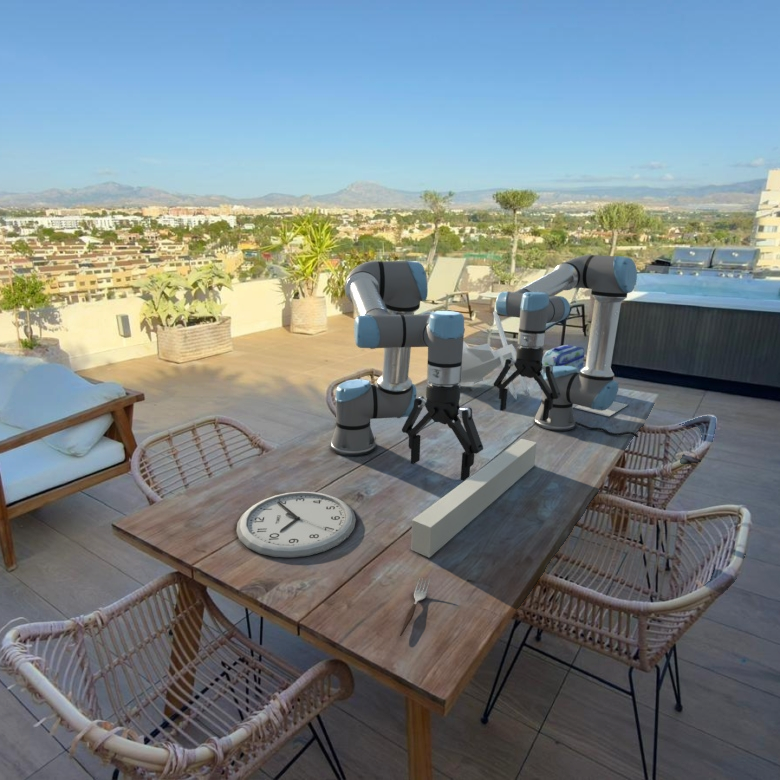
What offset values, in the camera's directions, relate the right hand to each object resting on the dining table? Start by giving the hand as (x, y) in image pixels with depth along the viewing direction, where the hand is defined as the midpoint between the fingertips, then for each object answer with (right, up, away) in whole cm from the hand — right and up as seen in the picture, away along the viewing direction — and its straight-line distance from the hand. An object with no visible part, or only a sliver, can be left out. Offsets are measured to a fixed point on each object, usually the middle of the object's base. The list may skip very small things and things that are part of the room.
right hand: (523, 414), depth 159 cm
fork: (-36, -37, -55) cm, 75 cm away
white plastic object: (+1, +6, +84) cm, 84 cm away
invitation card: (+51, 0, +67) cm, 84 cm away
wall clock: (-65, -27, -25) cm, 74 cm away
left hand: (-29, -11, -37) cm, 49 cm away
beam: (-15, -24, -13) cm, 31 cm away
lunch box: (+40, +8, +90) cm, 99 cm away
